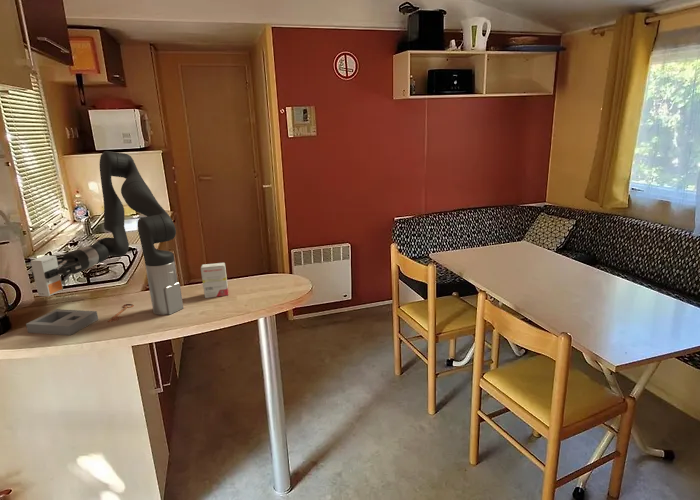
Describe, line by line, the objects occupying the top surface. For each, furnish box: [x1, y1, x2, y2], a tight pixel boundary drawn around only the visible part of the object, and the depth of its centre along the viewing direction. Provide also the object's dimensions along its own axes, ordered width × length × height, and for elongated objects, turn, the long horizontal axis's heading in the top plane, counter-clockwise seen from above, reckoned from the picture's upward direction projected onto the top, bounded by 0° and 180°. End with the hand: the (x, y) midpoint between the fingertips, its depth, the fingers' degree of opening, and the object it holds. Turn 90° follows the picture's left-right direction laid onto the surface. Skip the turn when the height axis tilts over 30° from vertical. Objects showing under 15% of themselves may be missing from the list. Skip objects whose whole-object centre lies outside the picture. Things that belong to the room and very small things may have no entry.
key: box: [107, 303, 134, 323], centre depth 160 cm, size 6×1×15 cm
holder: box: [25, 308, 99, 336], centre depth 151 cm, size 16×12×3 cm
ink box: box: [200, 262, 229, 299], centre depth 172 cm, size 9×5×12 cm, turn 102°
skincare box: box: [30, 255, 64, 297], centre depth 149 cm, size 6×4×12 cm
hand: (39, 275), depth 146 cm, fingers closed on skincare box, 4 cm apart
